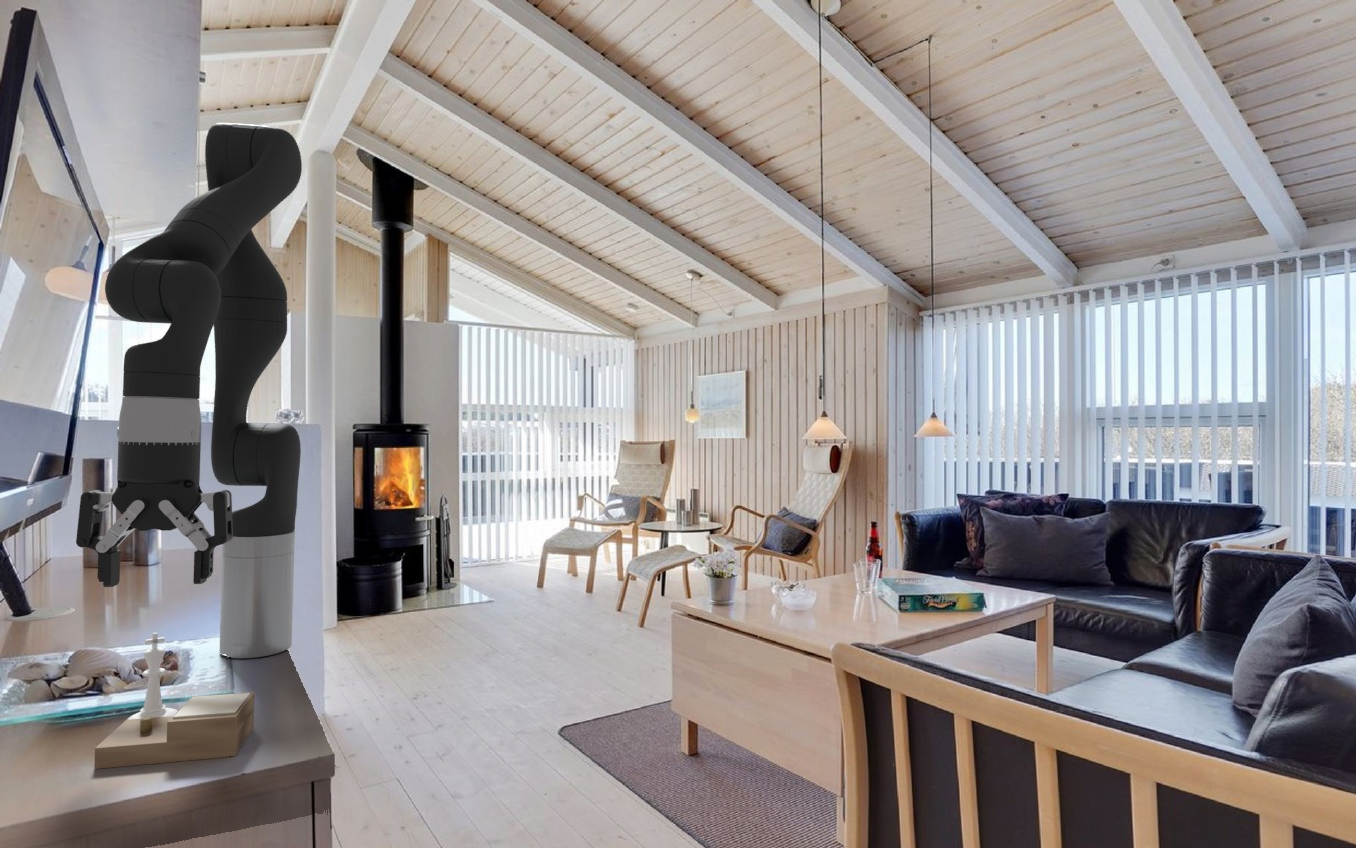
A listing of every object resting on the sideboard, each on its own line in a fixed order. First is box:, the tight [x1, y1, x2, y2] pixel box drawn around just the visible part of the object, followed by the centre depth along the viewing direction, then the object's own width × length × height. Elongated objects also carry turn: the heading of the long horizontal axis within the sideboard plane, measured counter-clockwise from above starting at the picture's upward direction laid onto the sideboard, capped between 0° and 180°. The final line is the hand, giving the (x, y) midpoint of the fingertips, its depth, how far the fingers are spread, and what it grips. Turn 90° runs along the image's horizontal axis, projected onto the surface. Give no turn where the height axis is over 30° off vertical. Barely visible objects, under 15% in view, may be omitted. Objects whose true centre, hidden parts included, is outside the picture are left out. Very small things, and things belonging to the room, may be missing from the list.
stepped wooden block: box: [93, 691, 256, 770], centre depth 76 cm, size 7×12×4 cm, turn 106°
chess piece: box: [126, 632, 178, 720], centre depth 82 cm, size 5×5×10 cm
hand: (156, 584), depth 82 cm, fingers open, 8 cm apart
